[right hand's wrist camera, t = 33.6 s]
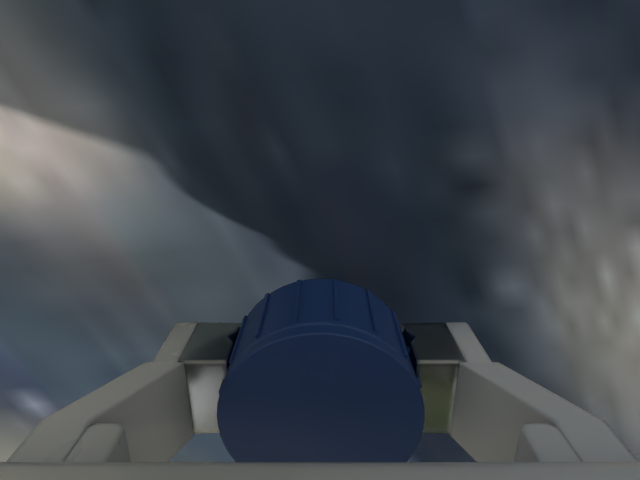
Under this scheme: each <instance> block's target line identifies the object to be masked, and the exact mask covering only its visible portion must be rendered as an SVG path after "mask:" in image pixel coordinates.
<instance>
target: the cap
mask: <svg viewBox="0 0 640 480" xmlns="http://www.w3.org/2000/svg"><path fill="white" fill-rule="evenodd" d="M409 353H410V348H409V347H407V346H406V343H405V339H404V336H403V333H402V330H401V328H400V325H399V323H398V321H397V318H396V314H395V312H394V311H393V310H392V311H391V310H390V309H389V308H388V307H387V306H386V305H385V304H384V303H383V302H382V301H381V300H380V299H379V298H377V297H376V296H375V295H373V294H372V293H371V291H370V290H368V289H367V290H365V289H363V288H361V287H359V286H356V285H354V284H351V283H347V282H344V281H340V280H337V279H334V278H333V280H332V279H309V280H303V281H301V280H297V282H294V283H291V284H288V285H286V286H283V287H281V288H279V289H277V290H275V291H273V292H272V293H270V294H269V293H267V294H266V295H265V297H264V298H263V299H262V300H261V301H260V302H259V303H258V304H257V305H256V306H255V307H254V308H253V309H252V310H251V312H250V313H249V315H248V316H246V315H245V316H244V318H243V321H242V324H241V327H240V330H239V333H238V336H237V339H236V342H235V345H234V348H233V351H232V354H231V357H230V360H229V363H230V364H229V367H228V370H227V373H226V376H225V379H224V383H223V385H221V386H220V389H219V399H218V403H217V424H218V428H219V432H220V436H221V439H222V441H223V443H224V446H225V447H226V449H227V451H228V452H229V454H230V455H231V457H232V458H233V459H234V460H235V462H407V461H408V460H409V458H410V457H411V455H412V454H413V452H414V451H415V449H416V447H417V445H418V443H419V441H420V439H421V435H422V432H423V428H424V421H425V407H424V402H423V397H422V394H421V391H420V388H422V384H421V381H420V378H416V375H415V371H414V368H413V365H412V362H411V359H410V355H409Z"/></svg>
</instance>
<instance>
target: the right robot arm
mask: <svg viewBox="0 0 640 480" xmlns="http://www.w3.org/2000/svg"><path fill="white" fill-rule="evenodd" d="M240 327H241V323H208V322H200V323H198V322H179V323H176V324H175V325H174V326H173V328H172V330H171V331H170V333H169V335H168V336H167V338H166V340H165V341H164V343H163V345H162V346H161V348H160V350H159V351H158V353H157V355H156V356H155V358H154V360H153V361H152V362H145V363H143V364H141V365H140V366H138V367H136V368H134V369H132V370H131V371H129V372H127V373H125V374H123V375H122V376H120V377H118V378H116V379H114V380H113V381H111V382H109V383H107V384H106V385H104V386H102V387H100V388H98V389H97V390H95V391H93V392H91V393H89V394H88V395H86V396H84V397H82V398H80V399H79V400H77V401H75V402H73V403H71V404H70V405H68V406H66V407H64V408H62V409H61V410H59V411H57V412H55V413H53V414H52V415H50V416H48V417H46V418H45V419H43V420H41V421H40V422H39V423H38V424H37V425H36V427H35V428H34V429H33V430H32V431H31V433H30V434H29V435H28V436H27V437H26V439H25V440H24V441H23V442H22V443H21V445H20V446H19V447H18V448H17V449H16V451H15V452H14V453H13V454H12V455H11V457H10V458H9V459H8V460H7V462H0V480H640V462H639V461H638V460H637V459H636V458H635V456H634V455H633V454H632V453H631V452H630V450H629V449H628V448H627V447H626V446H625V444H624V443H623V442H622V441H621V440H620V438H619V437H618V436H617V435H616V434H615V432H614V431H613V430H612V429H611V428H610V426H609V425H608V424H607V423H606V422H605V421H603V420H602V419H600V418H598V417H596V416H594V415H593V414H591V413H589V412H587V411H585V410H584V409H582V408H580V407H578V406H576V405H575V404H573V403H571V402H569V401H567V400H566V399H564V398H562V397H560V396H558V395H557V394H555V393H553V392H551V391H549V390H548V389H546V388H544V387H542V386H540V385H539V384H537V383H535V382H533V381H531V380H530V379H528V378H526V377H524V376H522V375H521V374H519V373H517V372H515V371H513V370H511V369H510V368H508V367H506V366H504V365H502V364H501V363H499V362H491V360H490V358H489V357H488V355H487V354H486V352H485V350H484V349H483V347H482V346H481V344H480V342H479V341H478V339H477V338H476V336H475V334H474V333H473V331H472V330H471V328H470V326H469V325H468V324H467V323H466V322H448V323H408V324H401V330H402V333H403V336H404V339H405V343H406V346H407V347H409V348H410V353H409V355H410V359H411V362H412V365H413V368H414V371H415V375H416V378H420V381H421V384H422V388H420V391H421V394H422V397H423V402H424V407H425V421H424V428H423V432H422V433H445V434H450V436H451V437H452V438H453V439H454V440H455V441H456V442H457V443H458V444H459V445H460V446H461V447H462V448H463V449H464V450H465V451H466V452H467V453H468V454H469V455H470V456H471V457H472V458H473V459H474V460H475V461H476V462H168V461H169V460H170V459H171V458H172V457H173V456H174V455H175V454H176V453H177V452H178V451H179V450H180V449H181V448H182V447H183V446H184V445H185V444H186V443H187V442H188V441H189V440H190V439H191V438H192V437H193V434H198V433H220V432H219V428H218V424H217V403H218V399H219V389H220V386H221V385H223V383H224V379H225V376H226V373H227V370H228V367H229V364H230V363H229V360H230V357H231V354H232V351H233V348H234V345H235V342H236V339H237V336H238V333H239V330H240Z"/></svg>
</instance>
